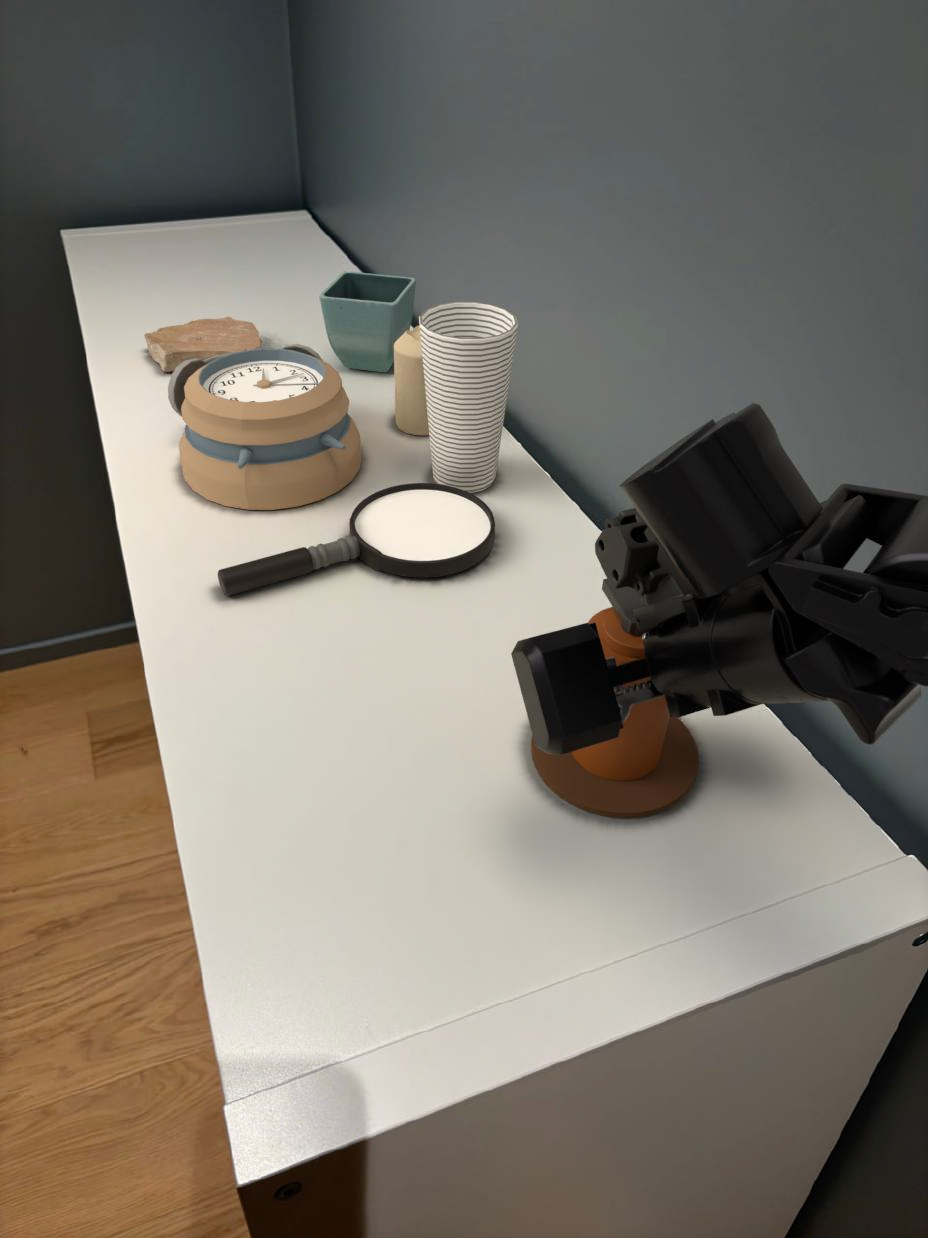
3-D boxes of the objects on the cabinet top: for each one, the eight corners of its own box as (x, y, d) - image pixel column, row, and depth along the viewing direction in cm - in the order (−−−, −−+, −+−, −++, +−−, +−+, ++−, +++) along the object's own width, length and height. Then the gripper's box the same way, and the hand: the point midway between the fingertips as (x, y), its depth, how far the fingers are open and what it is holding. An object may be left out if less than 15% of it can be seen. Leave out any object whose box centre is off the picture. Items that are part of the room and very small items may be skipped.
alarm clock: (186, 432, 75) (140, 328, 91) (203, 527, 81) (157, 413, 97) (383, 398, 80) (307, 305, 96) (386, 489, 86) (314, 388, 102)
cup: (519, 495, 86) (531, 334, 76) (430, 506, 84) (431, 343, 74) (493, 451, 92) (501, 297, 82) (410, 460, 90) (408, 304, 81)
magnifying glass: (200, 553, 78) (196, 532, 76) (452, 487, 87) (452, 467, 85) (248, 640, 69) (244, 617, 68) (521, 556, 78) (522, 535, 77)
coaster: (725, 742, 62) (726, 736, 62) (647, 848, 55) (649, 842, 55) (585, 673, 67) (586, 667, 67) (498, 763, 60) (499, 756, 60)
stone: (255, 331, 114) (252, 311, 112) (267, 372, 105) (264, 350, 104) (147, 342, 111) (142, 321, 109) (149, 384, 102) (145, 362, 101)
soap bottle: (675, 772, 59) (709, 637, 52) (588, 789, 58) (611, 653, 51) (635, 701, 64) (661, 570, 57) (554, 716, 63) (570, 583, 56)
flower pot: (347, 344, 112) (343, 269, 106) (417, 352, 110) (417, 276, 105) (323, 373, 105) (317, 295, 100) (397, 383, 104) (396, 304, 98)
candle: (397, 437, 94) (395, 342, 88) (393, 412, 98) (391, 320, 92) (451, 435, 95) (452, 341, 88) (445, 410, 99) (446, 319, 93)
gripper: (870, 446, 47) (703, 515, 62) (543, 517, 41) (445, 575, 56) (930, 658, 46) (748, 676, 61) (608, 761, 40) (492, 754, 55)
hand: (614, 666), depth 58 cm, fingers open, 6 cm apart
